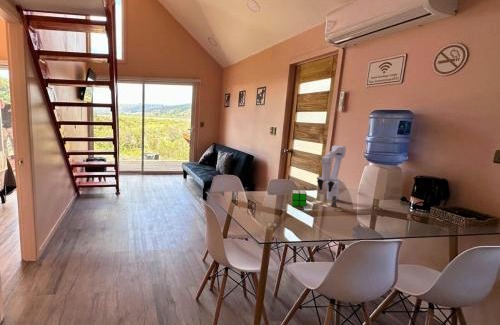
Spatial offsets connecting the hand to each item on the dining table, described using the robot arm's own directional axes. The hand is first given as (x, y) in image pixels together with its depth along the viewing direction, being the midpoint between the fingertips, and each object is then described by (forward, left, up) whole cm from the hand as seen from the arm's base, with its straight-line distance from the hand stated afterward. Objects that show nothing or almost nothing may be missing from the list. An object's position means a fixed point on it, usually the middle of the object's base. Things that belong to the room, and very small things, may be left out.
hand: (325, 190), depth 220 cm
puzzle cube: (+17, -11, -11) cm, 23 cm away
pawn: (+3, +9, -9) cm, 14 cm away
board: (+3, +4, -10) cm, 12 cm away
